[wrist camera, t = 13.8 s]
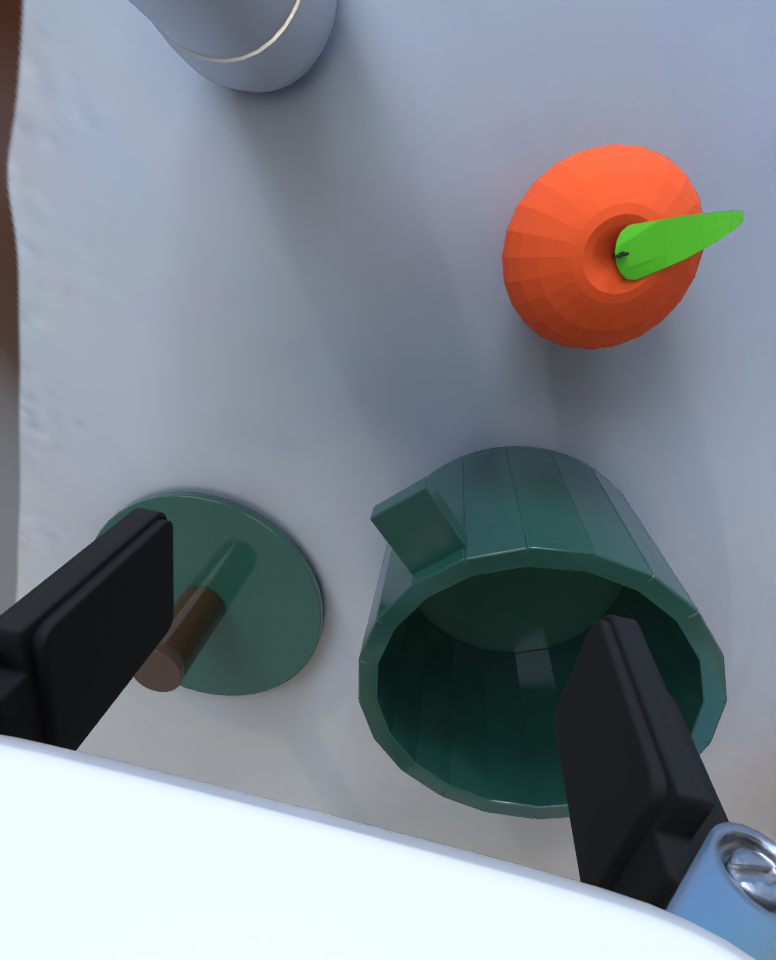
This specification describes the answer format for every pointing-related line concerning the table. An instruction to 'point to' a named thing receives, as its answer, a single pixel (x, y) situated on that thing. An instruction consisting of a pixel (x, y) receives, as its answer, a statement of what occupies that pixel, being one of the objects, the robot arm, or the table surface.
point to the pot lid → (231, 600)
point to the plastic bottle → (245, 37)
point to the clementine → (606, 245)
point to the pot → (514, 623)
